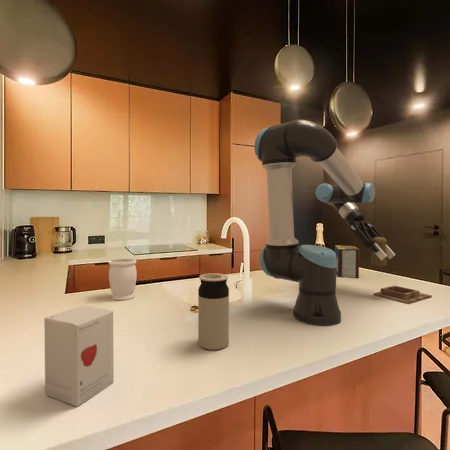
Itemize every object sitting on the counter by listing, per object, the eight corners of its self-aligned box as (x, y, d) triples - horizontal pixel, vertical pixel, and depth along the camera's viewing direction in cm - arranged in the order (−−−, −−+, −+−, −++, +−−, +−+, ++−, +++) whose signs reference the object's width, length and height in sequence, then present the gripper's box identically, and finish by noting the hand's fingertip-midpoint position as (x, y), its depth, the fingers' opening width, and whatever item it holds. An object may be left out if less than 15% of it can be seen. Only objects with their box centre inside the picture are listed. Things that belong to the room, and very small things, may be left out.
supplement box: (76, 408, 53) (75, 325, 52) (43, 395, 56) (42, 317, 56) (115, 382, 61) (114, 309, 60) (84, 372, 65) (83, 303, 64)
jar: (115, 303, 113) (114, 263, 112) (105, 297, 120) (104, 260, 120) (141, 298, 120) (141, 260, 119) (130, 292, 127) (130, 257, 127)
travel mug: (204, 353, 73) (204, 280, 73) (194, 340, 81) (194, 274, 80) (233, 347, 77) (234, 278, 76) (221, 335, 84) (221, 272, 83)
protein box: (353, 272, 172) (354, 245, 171) (358, 278, 157) (359, 249, 156) (334, 271, 174) (334, 245, 174) (337, 277, 159) (338, 248, 159)
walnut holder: (408, 304, 113) (408, 296, 113) (373, 295, 125) (373, 288, 125) (431, 297, 123) (431, 290, 122) (397, 289, 135) (397, 282, 134)
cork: (389, 266, 117) (390, 238, 116) (372, 265, 118) (373, 237, 117) (384, 263, 123) (385, 236, 122) (368, 262, 124) (369, 236, 123)
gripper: (358, 220, 137) (393, 261, 124) (333, 221, 127) (367, 265, 115) (370, 208, 132) (407, 249, 119) (344, 208, 123) (381, 253, 110)
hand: (388, 257), depth 117 cm, fingers closed on cork, 5 cm apart
